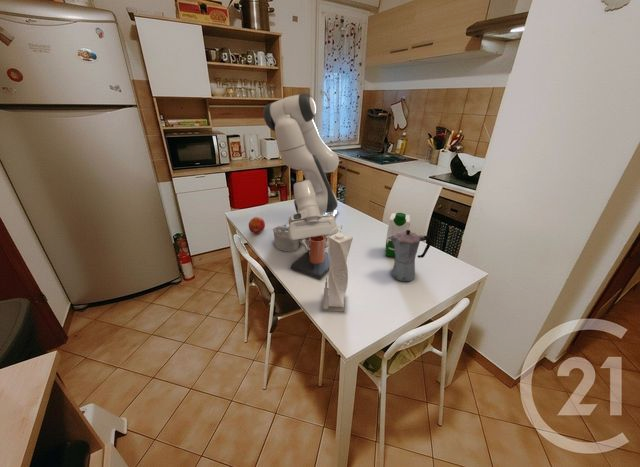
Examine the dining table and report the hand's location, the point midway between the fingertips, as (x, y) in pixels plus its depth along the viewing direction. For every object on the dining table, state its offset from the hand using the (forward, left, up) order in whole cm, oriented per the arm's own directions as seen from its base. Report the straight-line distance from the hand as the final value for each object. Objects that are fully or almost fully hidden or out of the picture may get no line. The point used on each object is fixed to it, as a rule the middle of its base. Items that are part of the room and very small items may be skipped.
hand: (317, 248), depth 103 cm
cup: (0, 0, -5) cm, 5 cm away
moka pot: (-15, +32, -10) cm, 36 cm away
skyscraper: (+13, +16, -10) cm, 23 cm away
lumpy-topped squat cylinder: (-10, -22, -10) cm, 26 cm away
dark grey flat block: (-3, -2, -10) cm, 10 cm away
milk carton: (-29, +24, -10) cm, 38 cm away
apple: (-12, -43, -10) cm, 46 cm away
